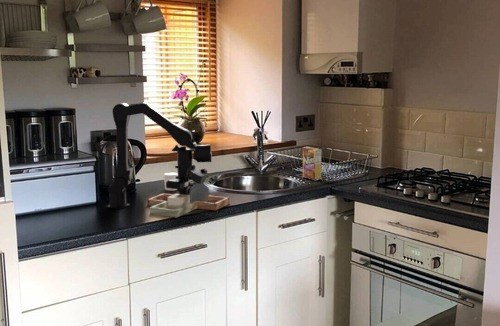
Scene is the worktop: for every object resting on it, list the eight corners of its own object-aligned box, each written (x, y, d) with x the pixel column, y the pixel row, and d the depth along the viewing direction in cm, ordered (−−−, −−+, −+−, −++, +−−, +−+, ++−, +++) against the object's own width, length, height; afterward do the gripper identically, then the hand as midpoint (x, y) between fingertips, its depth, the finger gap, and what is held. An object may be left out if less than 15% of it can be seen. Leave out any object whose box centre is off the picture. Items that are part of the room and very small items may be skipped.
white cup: (160, 189, 246) (160, 174, 245) (170, 186, 252) (169, 171, 251) (173, 191, 243) (173, 175, 242) (182, 188, 249) (182, 172, 248)
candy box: (301, 178, 268) (302, 147, 265) (308, 177, 270) (309, 146, 268) (314, 182, 261) (315, 149, 258) (321, 181, 263) (322, 148, 260)
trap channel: (195, 220, 199) (195, 213, 199) (132, 211, 211) (132, 205, 211) (229, 203, 222) (229, 197, 222) (170, 196, 234) (170, 190, 233)
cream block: (181, 211, 211) (181, 198, 210) (167, 209, 213) (167, 197, 212) (189, 207, 216) (189, 195, 215) (176, 206, 218) (176, 193, 218)
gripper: (190, 168, 204) (191, 210, 207) (215, 160, 221) (215, 198, 224) (164, 166, 209) (165, 206, 212) (190, 158, 226) (191, 196, 228)
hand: (185, 202), depth 219 cm, fingers closed
